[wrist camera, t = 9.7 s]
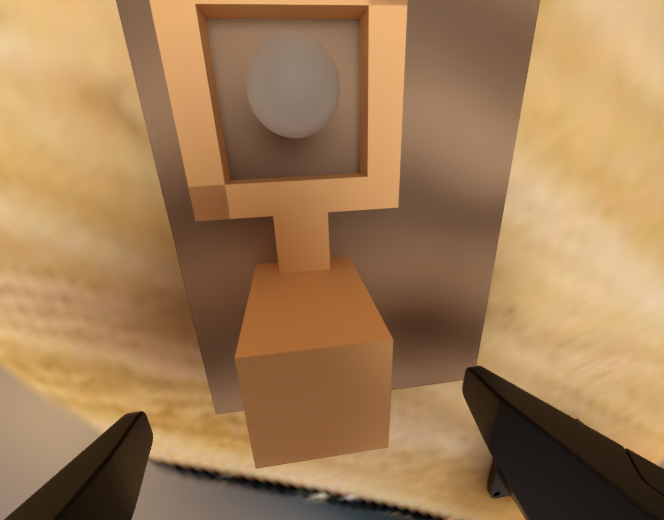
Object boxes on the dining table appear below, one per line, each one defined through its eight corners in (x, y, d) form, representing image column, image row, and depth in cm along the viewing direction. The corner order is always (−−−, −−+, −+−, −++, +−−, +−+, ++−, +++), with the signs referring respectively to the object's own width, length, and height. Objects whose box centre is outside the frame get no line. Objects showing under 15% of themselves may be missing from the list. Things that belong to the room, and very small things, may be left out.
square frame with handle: (384, 328, 15) (440, 438, 10) (230, 346, 14) (195, 478, 9) (396, -26, 10) (531, -224, 5) (155, -31, 9) (-39, -282, 4)
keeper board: (460, 360, 19) (543, 468, 13) (221, 391, 17) (186, 532, 11) (526, -85, 11) (814, -349, 5) (110, -103, 10) (-194, -519, 3)
